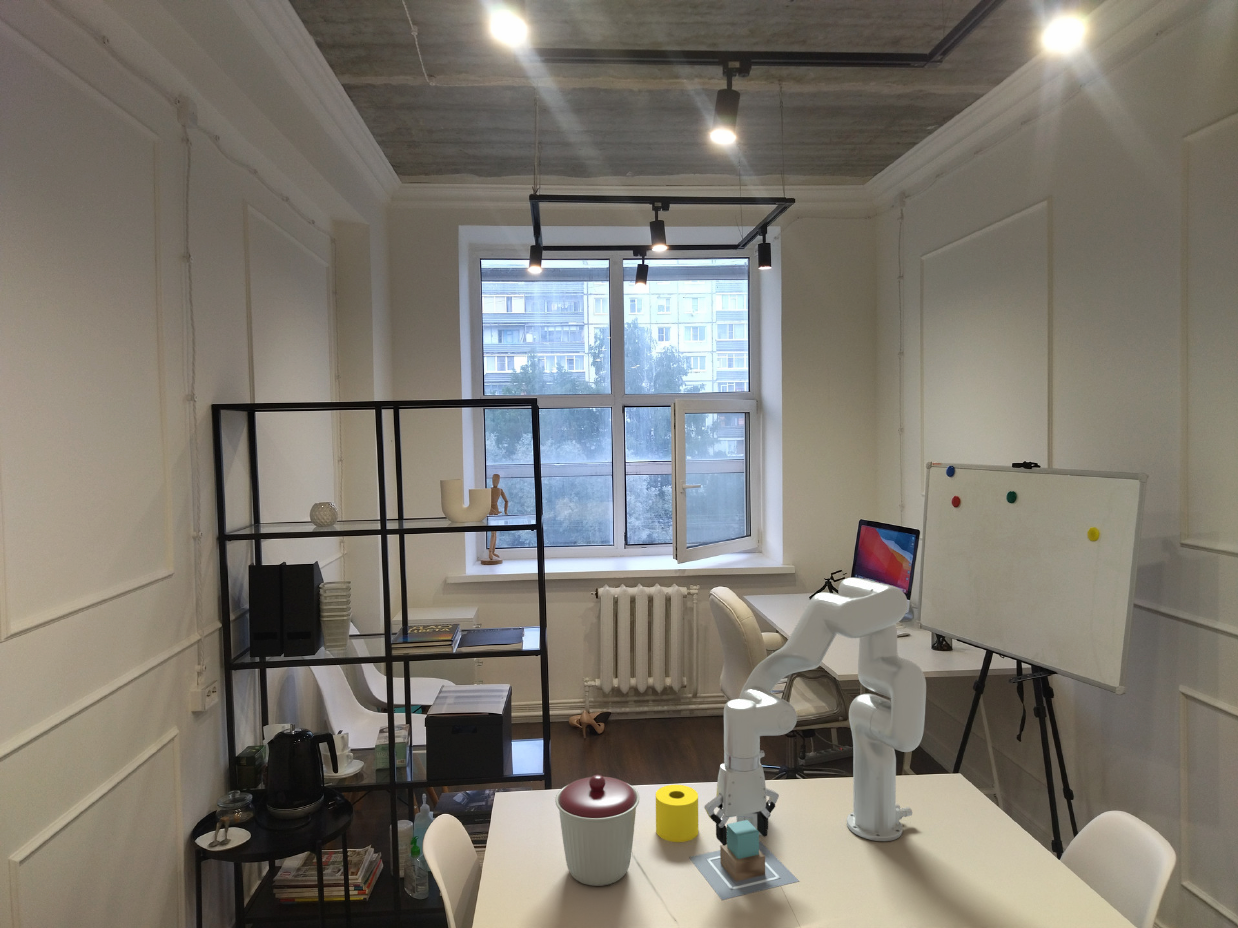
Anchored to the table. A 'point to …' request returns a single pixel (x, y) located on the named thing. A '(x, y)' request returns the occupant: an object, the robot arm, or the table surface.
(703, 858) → the grey mat
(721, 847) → the walnut block
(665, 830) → the yellow hollow cylinder
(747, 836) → the teal block
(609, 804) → the canister
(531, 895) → the table surface
